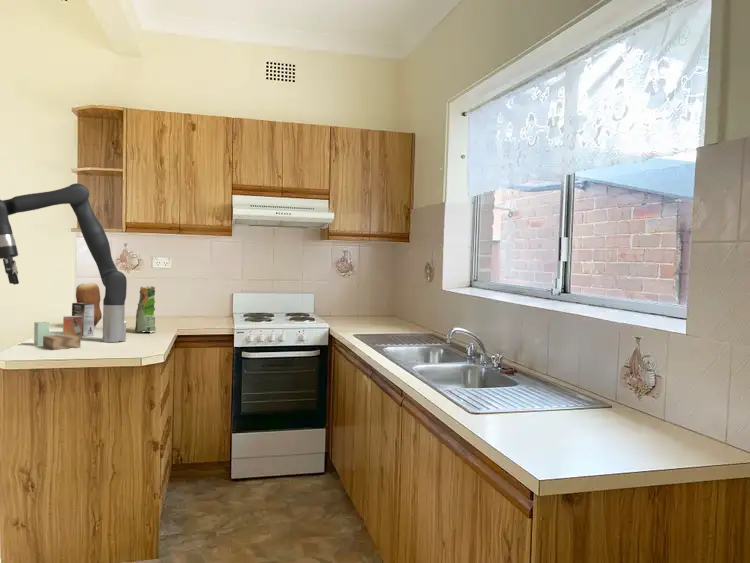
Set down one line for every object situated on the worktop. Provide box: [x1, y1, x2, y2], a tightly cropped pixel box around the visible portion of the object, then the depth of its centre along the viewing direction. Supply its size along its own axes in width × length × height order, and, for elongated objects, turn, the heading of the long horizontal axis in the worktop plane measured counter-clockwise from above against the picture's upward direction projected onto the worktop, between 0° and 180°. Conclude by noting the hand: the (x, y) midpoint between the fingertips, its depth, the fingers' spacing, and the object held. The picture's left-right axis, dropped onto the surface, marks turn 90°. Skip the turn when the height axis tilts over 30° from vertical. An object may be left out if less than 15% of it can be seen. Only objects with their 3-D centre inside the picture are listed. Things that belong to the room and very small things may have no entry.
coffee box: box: [71, 302, 95, 337], centre depth 294 cm, size 9×6×16 cm
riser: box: [42, 334, 82, 351], centre depth 253 cm, size 11×11×5 cm
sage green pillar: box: [33, 321, 50, 347], centre depth 258 cm, size 4×4×10 cm
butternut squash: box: [75, 282, 103, 328], centre depth 320 cm, size 14×13×25 cm
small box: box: [62, 315, 82, 338], centre depth 283 cm, size 8×6×10 cm
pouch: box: [134, 285, 157, 333], centre depth 310 cm, size 11×12×25 cm
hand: (14, 283), depth 249 cm, fingers open, 8 cm apart
